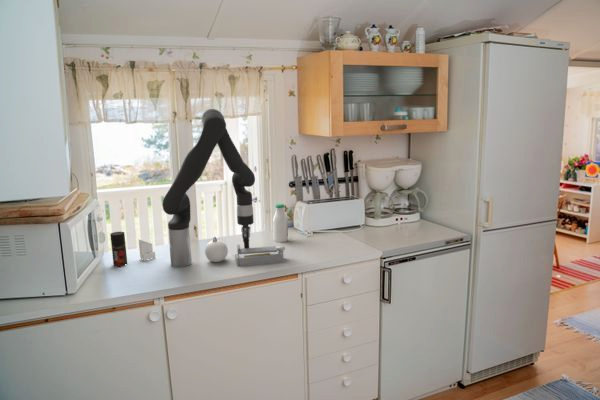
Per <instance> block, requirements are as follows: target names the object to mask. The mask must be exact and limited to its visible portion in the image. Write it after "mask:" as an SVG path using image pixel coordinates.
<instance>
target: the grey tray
mask: <svg viewBox="0 0 600 400" xmlns="http://www.w3.org/2000/svg"><path fill="white" fill-rule="evenodd" d="M267 253H270V254H271V255H262V256H253V257H244V256H246V255H255V254H264V253H252V254H238V253H234V254H233V255H232V257H233V259H234V261H235V264H236V266H237V267H245V266H253V265H263V264H272V263H281V262H285V261H286V260H285V259H284V250H282V251H278V250H277V252H267Z"/></svg>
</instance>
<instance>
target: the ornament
mask: <svg viewBox="0 0 600 400" xmlns="http://www.w3.org/2000/svg"><path fill="white" fill-rule="evenodd" d="M228 253H229V250H228V246H227V244H226V243H225V242H224V241H223V240H220V239H217V237H216V236H213V238H212V240H211V241H209V242H208V243H207V244H206V246H205V249H204V254H205V256H206V259H207V260H209V261H210V262H213V263H221V262H223V261H224V260H226V258H227V256H228Z"/></svg>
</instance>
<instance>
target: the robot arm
mask: <svg viewBox="0 0 600 400" xmlns="http://www.w3.org/2000/svg"><path fill="white" fill-rule="evenodd" d="M201 125H202V131H201V134H200V137H199V139H198V141H197V143H196V144H195V145H194V146H193V147H192V148H191V149H190V150H189V151H188V153H187V154H186V156H185V158H184V160H183V161H182V164H181V166H180V169H179V171H178V173H177V174H176V177H175V179H174V181H173V182H172V184H171V186H170V188H169V189H168V191H167V192H166V193H165V196H164V197H163V199H162V210H163V212H164V213H165V214H167V215H171V216H172V217H171V219H170V220H169V221H168V222H167V228H168V239H169V240H168V241H169V254H170V267H172V268H174V267H175V268H182V267H187V266H189V265H192V248H191V245H192V244H191V234H190V233H191V232H190V222H191V201H190V198H189V195H188V194H187V192H188V191H189V189H191V187H193V186H194V184H196V182H197V181H199V179H200V178H201V177H202V174H203V173H204V171H205V169H206V166H207V164H208V163H209V160H210V158H211V156H212V154H213V151H214V149H215V148H216V146H218V148H219V151H220V154H221V156H222V158H223V160H224V161H225V162H224V163H225V164H226V165H227V168H228V169H229V171H230V172H232V173H233V174H232V177H231V182H232V186H233V190H234V192H235V195H236V219H237V221H236V222H237V225H239V226H241V228H240V229H241V234H242V235H241V236H242V242H243V246H244V247H243V248H250V237H251V225H253V224H254V220H255V219H254V207H253V194H252V191H249V190H247V189H246V188H249V187H252V186H253V185H255V182H256V177H255V174H254V172H253V171H252V169H251V168H250V167H249V166H248V165H247V164H246V163H245V162H244V159H243V158H242V156H241V154H240V152H239V151H238V149H237V147H236V146H235V143H234V142H233V140H232V138H231V136H230V134H229V132H228V129H227V123H226V120H225V117H224V115H223V114H222V112H221V111H219V110H218V109H215V108H209V109H207V110H205V111H204V112H203V114H202V116H201ZM249 225H250V226H249Z"/></svg>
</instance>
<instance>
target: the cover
mask: <svg viewBox="0 0 600 400" xmlns="http://www.w3.org/2000/svg"><path fill="white" fill-rule="evenodd" d="M236 249H237V251H236V252H237V254H239V255H241V254H252V253H267V252H277V251H282V250H283V251H285V250H286V246H285V245H278V246H263V247H262V246H261V247H249V248H244V247H243V248H241V244H236Z"/></svg>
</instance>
